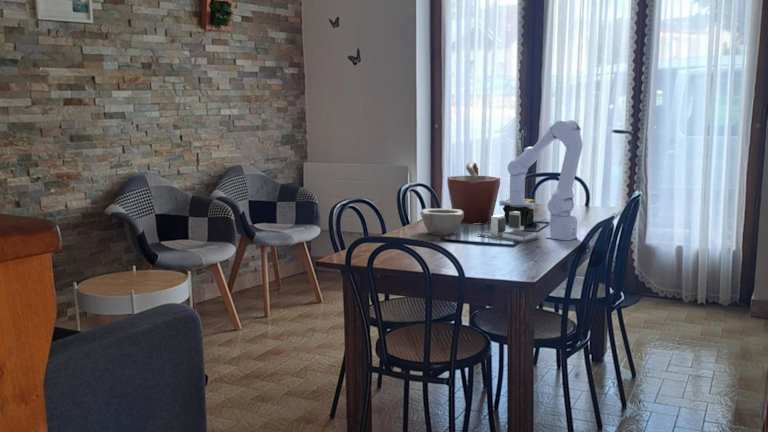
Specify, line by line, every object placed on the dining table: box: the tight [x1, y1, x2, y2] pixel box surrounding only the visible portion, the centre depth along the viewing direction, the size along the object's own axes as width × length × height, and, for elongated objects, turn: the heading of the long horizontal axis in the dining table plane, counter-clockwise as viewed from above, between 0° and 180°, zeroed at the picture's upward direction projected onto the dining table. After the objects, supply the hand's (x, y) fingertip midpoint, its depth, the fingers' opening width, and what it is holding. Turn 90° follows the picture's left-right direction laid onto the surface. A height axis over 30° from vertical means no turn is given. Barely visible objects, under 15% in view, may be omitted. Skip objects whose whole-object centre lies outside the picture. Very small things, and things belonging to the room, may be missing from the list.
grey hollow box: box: [477, 214, 539, 243], centre depth 271 cm, size 20×11×8 cm, turn 51°
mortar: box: [420, 208, 464, 236], centre depth 278 cm, size 17×17×9 cm
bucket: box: [446, 162, 501, 225], centre depth 306 cm, size 24×22×25 cm
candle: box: [504, 198, 535, 226], centre depth 302 cm, size 10×10×10 cm
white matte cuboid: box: [508, 211, 525, 231], centre depth 281 cm, size 4×5×7 cm
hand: (516, 225), depth 282 cm, fingers closed on white matte cuboid, 5 cm apart
